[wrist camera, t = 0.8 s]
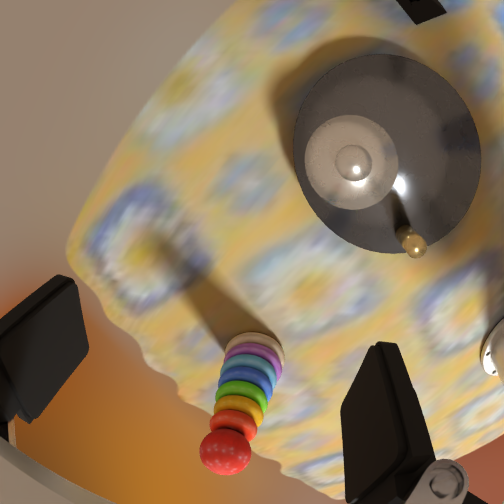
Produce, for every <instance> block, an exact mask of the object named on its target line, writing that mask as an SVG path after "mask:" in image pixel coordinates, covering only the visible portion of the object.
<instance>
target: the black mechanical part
mask: <svg viewBox="0 0 504 504" xmlns="http://www.w3.org/2000/svg"><path fill="white" fill-rule="evenodd" d="M396 1H397V2H398V3H399V4H400V6H401V7H402V8H403V9H404V10H405V12H406V13H407V14H408V15H409V17H410V18H411V19H412V21H413V22H414V23H415V24H416V25H418V24H420V23H422V22H425V21H427V20H430V19H432V18H435V17H437V16H440V15H443V14H445V13H447V12H446V10H445V9H444V8H443V6H442V5H441V4H440V2H439V1H438V0H396Z"/></svg>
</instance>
